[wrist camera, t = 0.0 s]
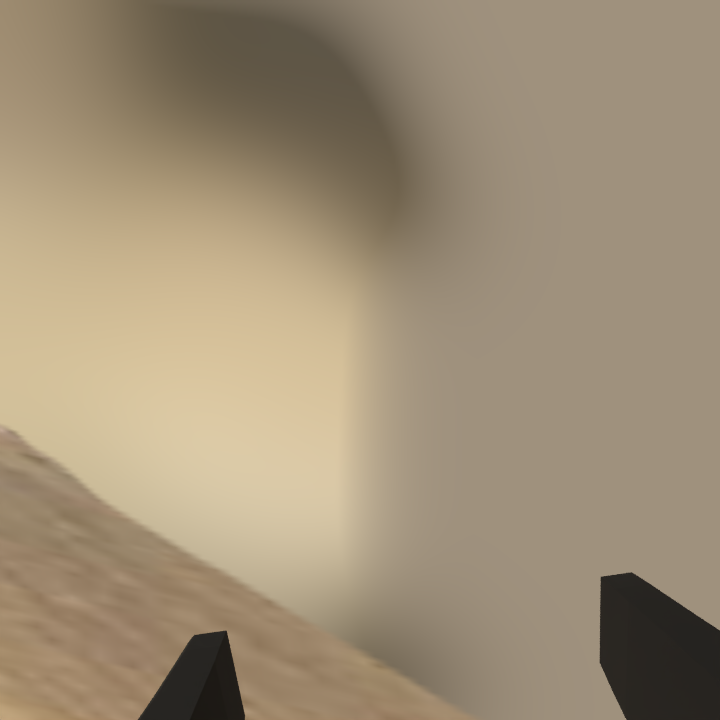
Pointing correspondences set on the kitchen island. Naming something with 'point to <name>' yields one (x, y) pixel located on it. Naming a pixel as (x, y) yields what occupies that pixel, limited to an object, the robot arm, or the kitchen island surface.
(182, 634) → the kitchen island surface
